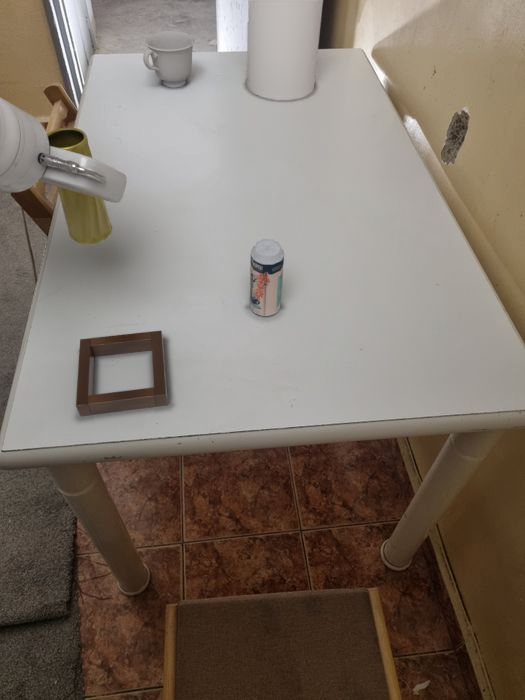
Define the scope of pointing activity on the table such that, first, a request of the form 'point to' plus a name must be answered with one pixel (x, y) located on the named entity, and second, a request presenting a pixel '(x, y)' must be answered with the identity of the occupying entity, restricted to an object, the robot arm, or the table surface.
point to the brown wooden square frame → (122, 399)
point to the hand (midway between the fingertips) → (80, 181)
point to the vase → (80, 194)
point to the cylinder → (282, 47)
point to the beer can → (266, 277)
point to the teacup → (170, 56)
